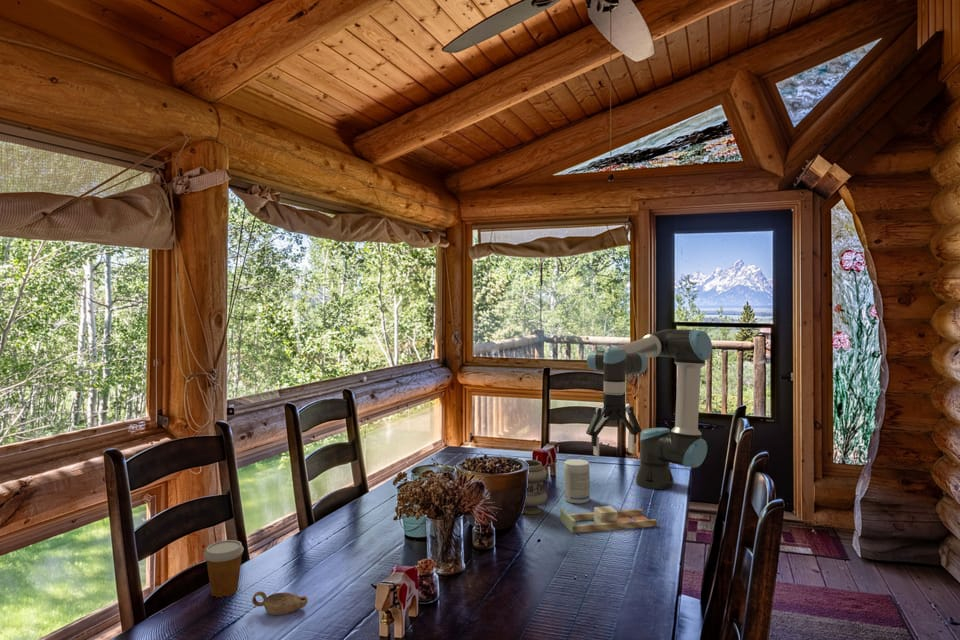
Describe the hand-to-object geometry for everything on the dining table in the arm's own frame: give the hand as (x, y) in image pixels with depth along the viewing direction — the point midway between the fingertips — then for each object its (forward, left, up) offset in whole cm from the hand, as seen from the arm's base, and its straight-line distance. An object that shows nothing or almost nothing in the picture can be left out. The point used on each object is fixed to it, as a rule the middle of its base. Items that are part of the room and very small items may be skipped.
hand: (613, 454), depth 210 cm
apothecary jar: (+27, -12, -23) cm, 37 cm away
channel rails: (+4, +4, -23) cm, 23 cm away
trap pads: (-6, +4, -23) cm, 24 cm away
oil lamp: (+106, +43, -23) cm, 117 cm away
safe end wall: (+18, +4, -23) cm, 29 cm away
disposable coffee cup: (+122, +30, -23) cm, 127 cm away
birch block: (+5, +4, -23) cm, 24 cm away
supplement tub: (+6, -21, -23) cm, 32 cm away
